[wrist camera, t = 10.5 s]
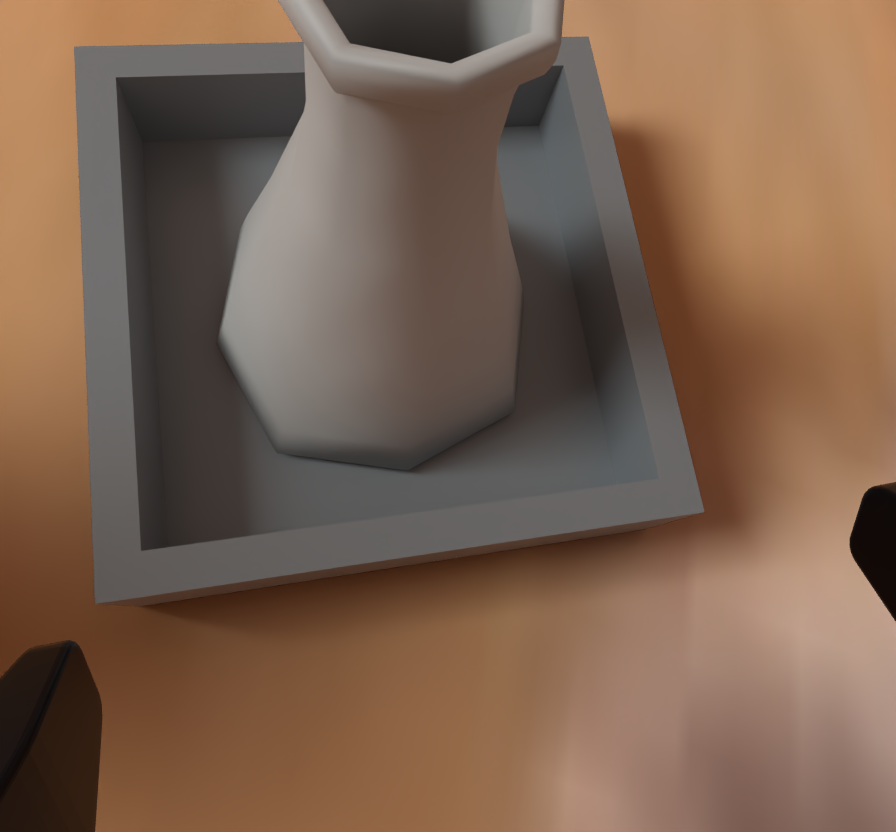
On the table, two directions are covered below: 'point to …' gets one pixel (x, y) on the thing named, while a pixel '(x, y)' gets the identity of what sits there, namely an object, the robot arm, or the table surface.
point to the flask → (388, 233)
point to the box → (226, 407)
